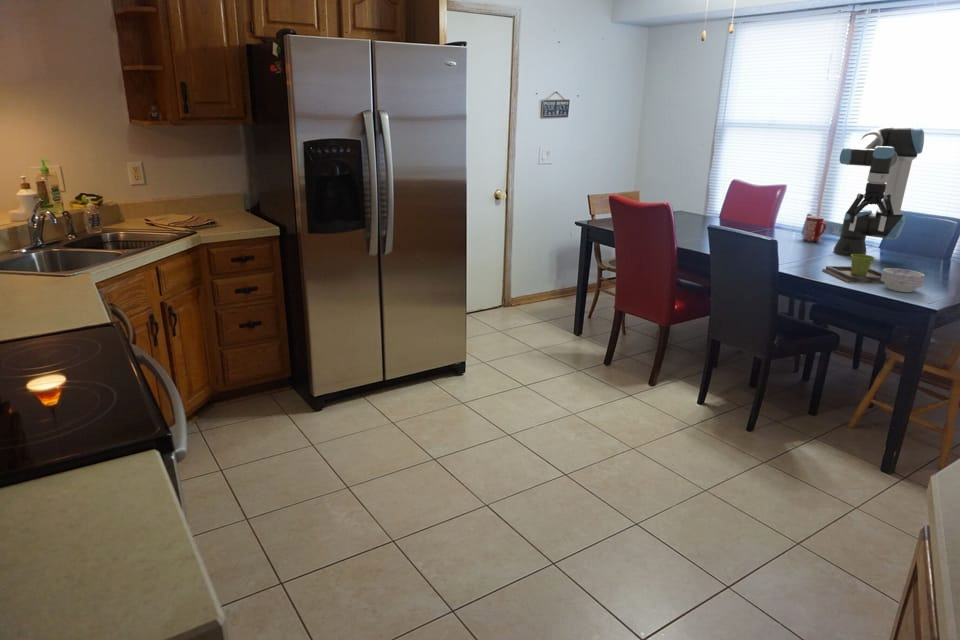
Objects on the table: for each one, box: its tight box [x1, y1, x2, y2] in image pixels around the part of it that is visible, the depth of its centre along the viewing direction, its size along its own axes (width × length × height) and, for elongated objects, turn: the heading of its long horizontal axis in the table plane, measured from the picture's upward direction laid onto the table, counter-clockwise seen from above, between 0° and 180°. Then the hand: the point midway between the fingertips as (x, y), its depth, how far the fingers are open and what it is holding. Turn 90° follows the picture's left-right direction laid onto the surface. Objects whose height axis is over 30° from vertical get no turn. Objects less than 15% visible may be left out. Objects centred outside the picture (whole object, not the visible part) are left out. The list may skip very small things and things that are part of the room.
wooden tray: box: [821, 265, 885, 284], centre depth 289 cm, size 22×20×2 cm
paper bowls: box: [881, 267, 926, 293], centre depth 269 cm, size 15×15×8 cm
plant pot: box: [850, 254, 875, 276], centre depth 288 cm, size 9×9×9 cm
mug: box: [803, 215, 827, 242], centre depth 364 cm, size 13×9×14 cm
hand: (866, 230), depth 285 cm, fingers open, 13 cm apart
